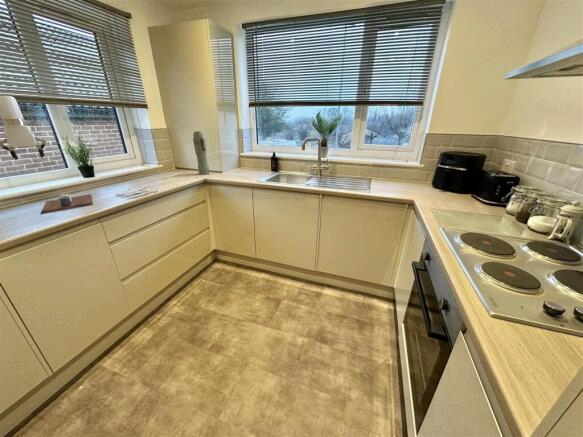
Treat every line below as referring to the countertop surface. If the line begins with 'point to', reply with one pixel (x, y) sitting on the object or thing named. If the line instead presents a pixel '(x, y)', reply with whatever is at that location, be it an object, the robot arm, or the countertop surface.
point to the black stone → (65, 201)
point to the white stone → (66, 196)
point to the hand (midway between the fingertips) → (29, 158)
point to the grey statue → (201, 153)
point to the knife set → (136, 191)
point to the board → (76, 202)
